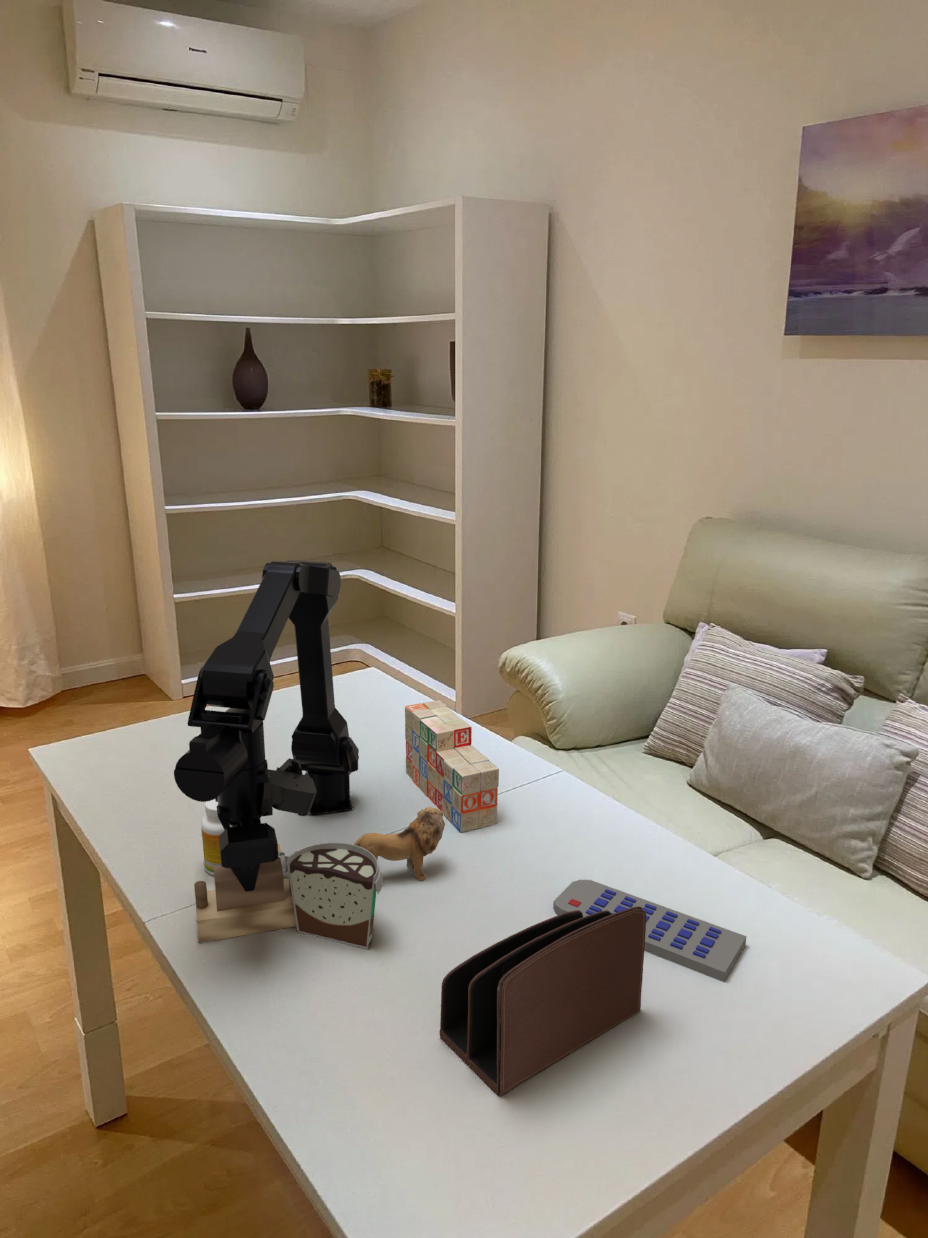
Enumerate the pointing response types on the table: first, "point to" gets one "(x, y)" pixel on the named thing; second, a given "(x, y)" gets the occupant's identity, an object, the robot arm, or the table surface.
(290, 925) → the peg stand
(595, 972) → the letter holder
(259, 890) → the tall brown cuboid
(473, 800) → the stack of blocks
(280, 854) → the door lever handle
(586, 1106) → the table surface
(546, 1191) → the table surface
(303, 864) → the food container
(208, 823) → the supplement bottle
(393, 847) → the lion figurine
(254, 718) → the robot arm
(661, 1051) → the table surface
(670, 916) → the remote control
